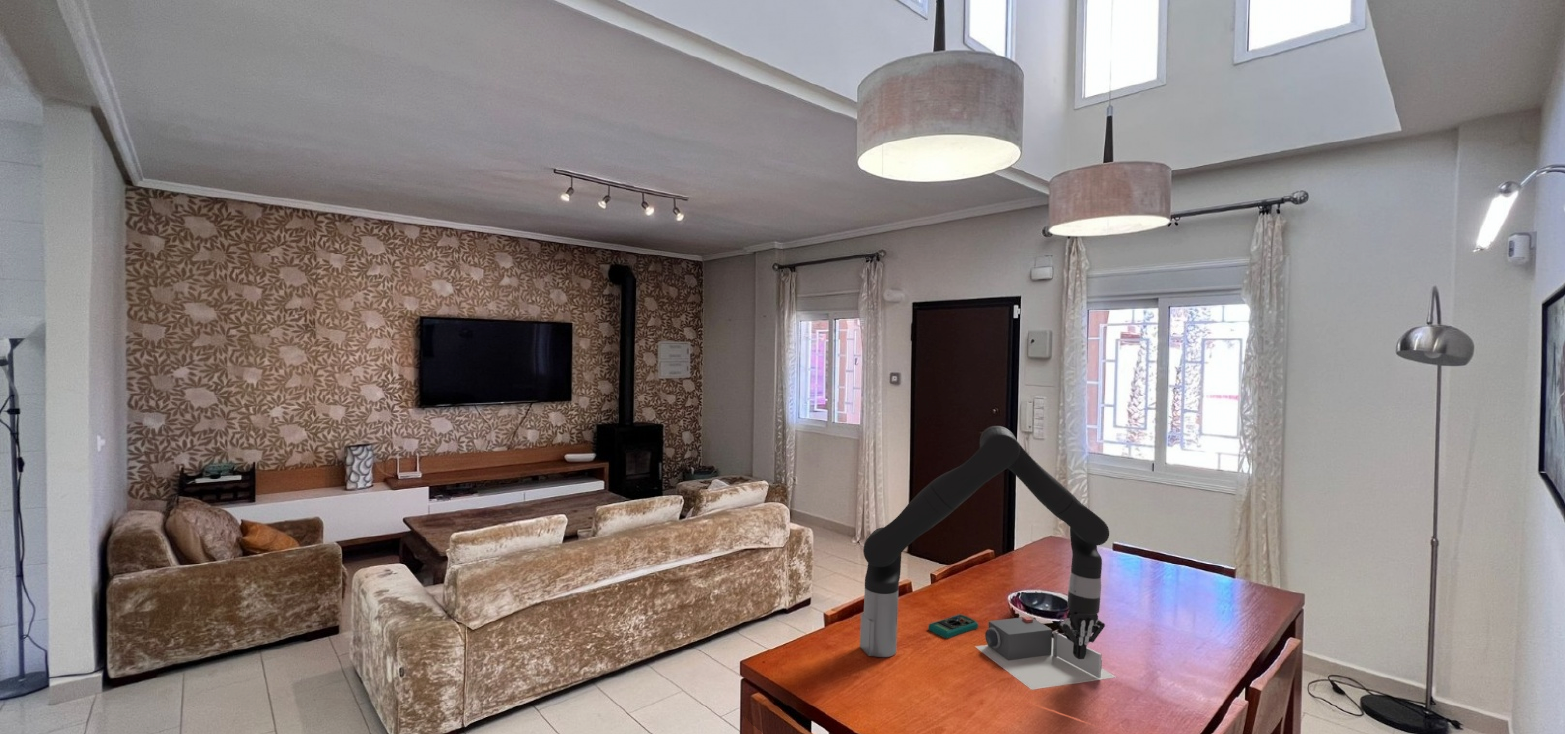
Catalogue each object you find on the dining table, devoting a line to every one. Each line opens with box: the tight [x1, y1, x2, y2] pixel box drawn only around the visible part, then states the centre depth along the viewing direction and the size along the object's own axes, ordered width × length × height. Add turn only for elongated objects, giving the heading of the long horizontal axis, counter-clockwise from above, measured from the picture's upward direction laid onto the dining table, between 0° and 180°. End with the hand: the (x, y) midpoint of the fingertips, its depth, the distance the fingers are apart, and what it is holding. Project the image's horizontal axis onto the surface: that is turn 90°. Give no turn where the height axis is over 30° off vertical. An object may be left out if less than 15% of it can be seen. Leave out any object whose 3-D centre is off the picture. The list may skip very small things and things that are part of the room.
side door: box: [1052, 630, 1103, 678], centre depth 169 cm, size 14×2×6 cm, turn 26°
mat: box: [974, 637, 1116, 691], centre depth 172 cm, size 26×24×1 cm
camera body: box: [984, 616, 1053, 660], centre depth 177 cm, size 16×9×8 cm, turn 107°
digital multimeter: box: [928, 614, 979, 639], centre depth 191 cm, size 7×15×3 cm, turn 125°
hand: (1079, 657), depth 165 cm, fingers closed
